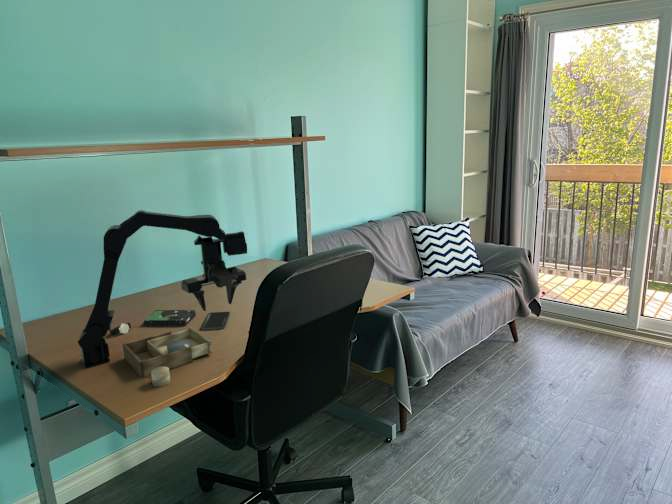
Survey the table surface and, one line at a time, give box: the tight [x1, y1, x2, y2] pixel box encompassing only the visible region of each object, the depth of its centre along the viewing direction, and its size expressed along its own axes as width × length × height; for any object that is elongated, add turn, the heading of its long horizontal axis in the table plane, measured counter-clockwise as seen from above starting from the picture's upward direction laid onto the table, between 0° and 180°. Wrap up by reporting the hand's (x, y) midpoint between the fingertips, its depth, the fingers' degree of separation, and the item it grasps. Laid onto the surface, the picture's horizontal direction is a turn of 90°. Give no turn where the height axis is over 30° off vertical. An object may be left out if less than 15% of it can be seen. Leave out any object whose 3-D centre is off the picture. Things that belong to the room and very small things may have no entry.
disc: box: [167, 339, 192, 353], centre depth 147 cm, size 7×7×2 cm
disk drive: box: [143, 309, 197, 327], centre depth 174 cm, size 10×3×15 cm
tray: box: [147, 326, 213, 359], centre depth 147 cm, size 15×15×4 cm
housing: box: [122, 331, 194, 379], centre depth 143 cm, size 14×16×4 cm
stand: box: [151, 366, 171, 388], centre depth 130 cm, size 4×4×4 cm
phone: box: [200, 311, 231, 331], centre depth 172 cm, size 8×1×15 cm
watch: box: [109, 322, 132, 337], centre depth 165 cm, size 8×5×4 cm, turn 158°
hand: (217, 307), depth 152 cm, fingers open, 8 cm apart
